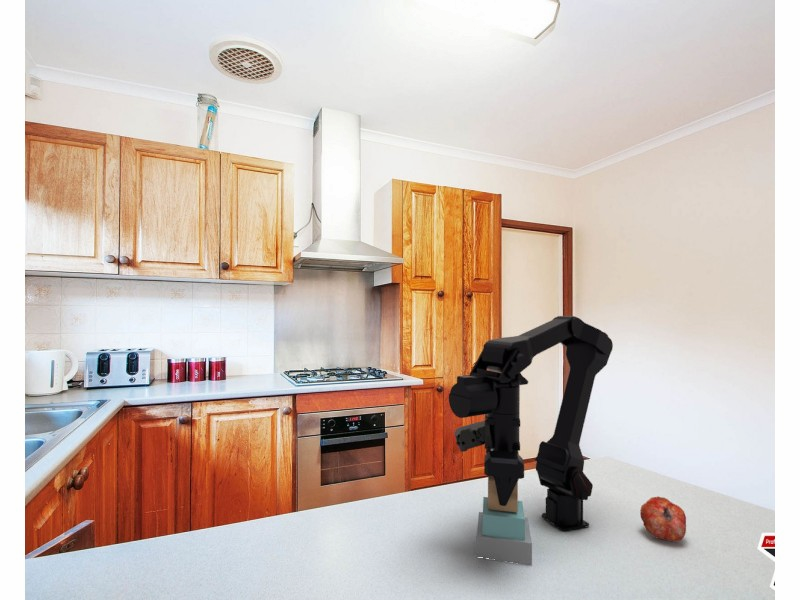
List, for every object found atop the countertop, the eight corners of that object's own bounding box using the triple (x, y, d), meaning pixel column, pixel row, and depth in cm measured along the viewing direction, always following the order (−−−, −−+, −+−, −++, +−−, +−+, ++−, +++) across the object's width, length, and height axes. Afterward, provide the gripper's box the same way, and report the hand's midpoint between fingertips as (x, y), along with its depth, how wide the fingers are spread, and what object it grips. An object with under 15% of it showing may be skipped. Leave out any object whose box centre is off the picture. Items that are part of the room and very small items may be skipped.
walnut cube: (488, 496, 78) (488, 469, 78) (515, 499, 77) (516, 472, 77) (487, 509, 73) (488, 480, 74) (517, 512, 72) (517, 483, 72)
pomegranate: (637, 537, 83) (636, 523, 77) (643, 500, 87) (643, 484, 80) (682, 554, 79) (686, 541, 72) (686, 514, 82) (690, 498, 76)
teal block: (483, 515, 79) (483, 496, 79) (522, 520, 78) (522, 501, 78) (482, 535, 72) (482, 514, 72) (524, 540, 71) (525, 519, 71)
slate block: (478, 533, 81) (478, 511, 81) (527, 539, 79) (528, 517, 79) (476, 560, 72) (476, 536, 72) (531, 567, 70) (531, 543, 70)
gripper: (461, 397, 87) (460, 474, 86) (453, 421, 68) (452, 518, 68) (517, 400, 84) (517, 479, 84) (524, 425, 66) (524, 526, 66)
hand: (502, 498), depth 75 cm, fingers closed on walnut cube, 5 cm apart
